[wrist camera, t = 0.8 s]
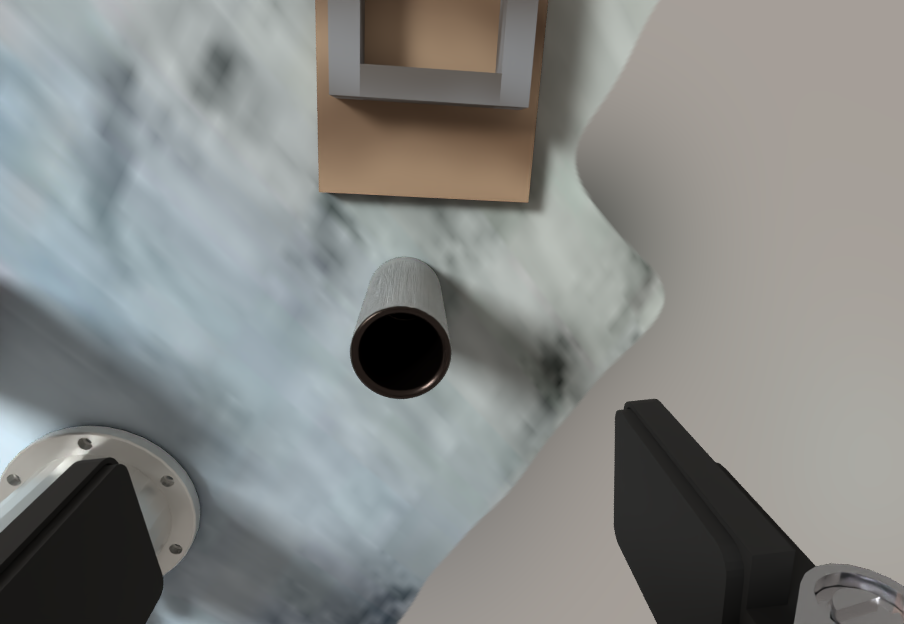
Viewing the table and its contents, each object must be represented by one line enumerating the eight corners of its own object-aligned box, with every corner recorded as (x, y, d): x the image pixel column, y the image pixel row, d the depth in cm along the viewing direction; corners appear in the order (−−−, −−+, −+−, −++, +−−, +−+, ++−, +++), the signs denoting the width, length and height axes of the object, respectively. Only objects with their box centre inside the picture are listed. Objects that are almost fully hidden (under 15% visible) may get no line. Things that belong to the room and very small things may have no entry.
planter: (455, 292, 34) (472, 355, 24) (404, 339, 34) (400, 418, 25) (405, 241, 32) (401, 285, 23) (353, 290, 33) (327, 353, 23)
